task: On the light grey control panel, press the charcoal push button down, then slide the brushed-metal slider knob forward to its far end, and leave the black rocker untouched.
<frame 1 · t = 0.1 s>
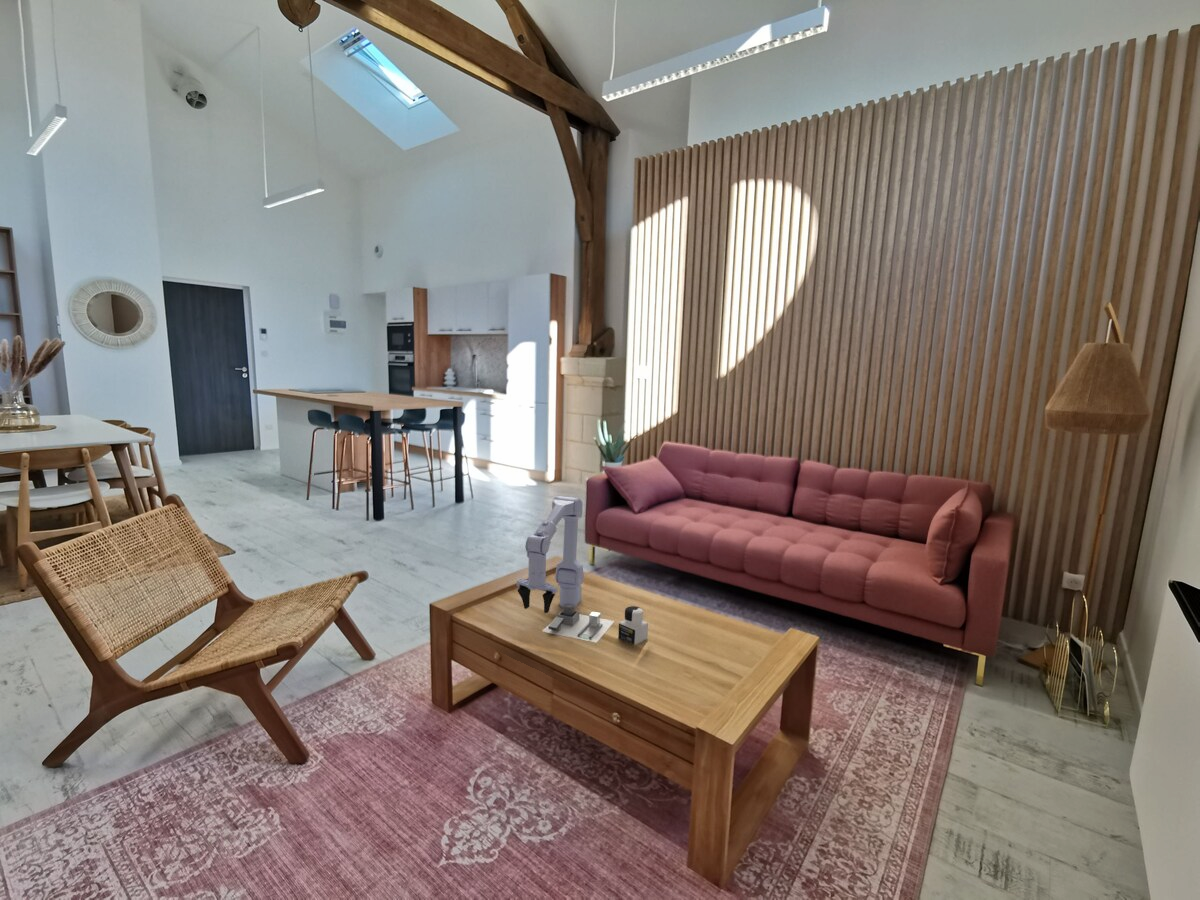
hand: (536, 609, 197), 10 cm above the table, fingers open, 7 cm apart
rocker: (556, 623, 201), point 4 cm above the table, hinge at 10.0°
slider knob: (594, 619, 204), point 4 cm above the table, slide at 0.0 cm
panel: (578, 630, 205), on the table
push button: (568, 611, 208), point 5 cm above the table, slide at 0.0 cm
medicine bottle: (632, 643, 197), on the table
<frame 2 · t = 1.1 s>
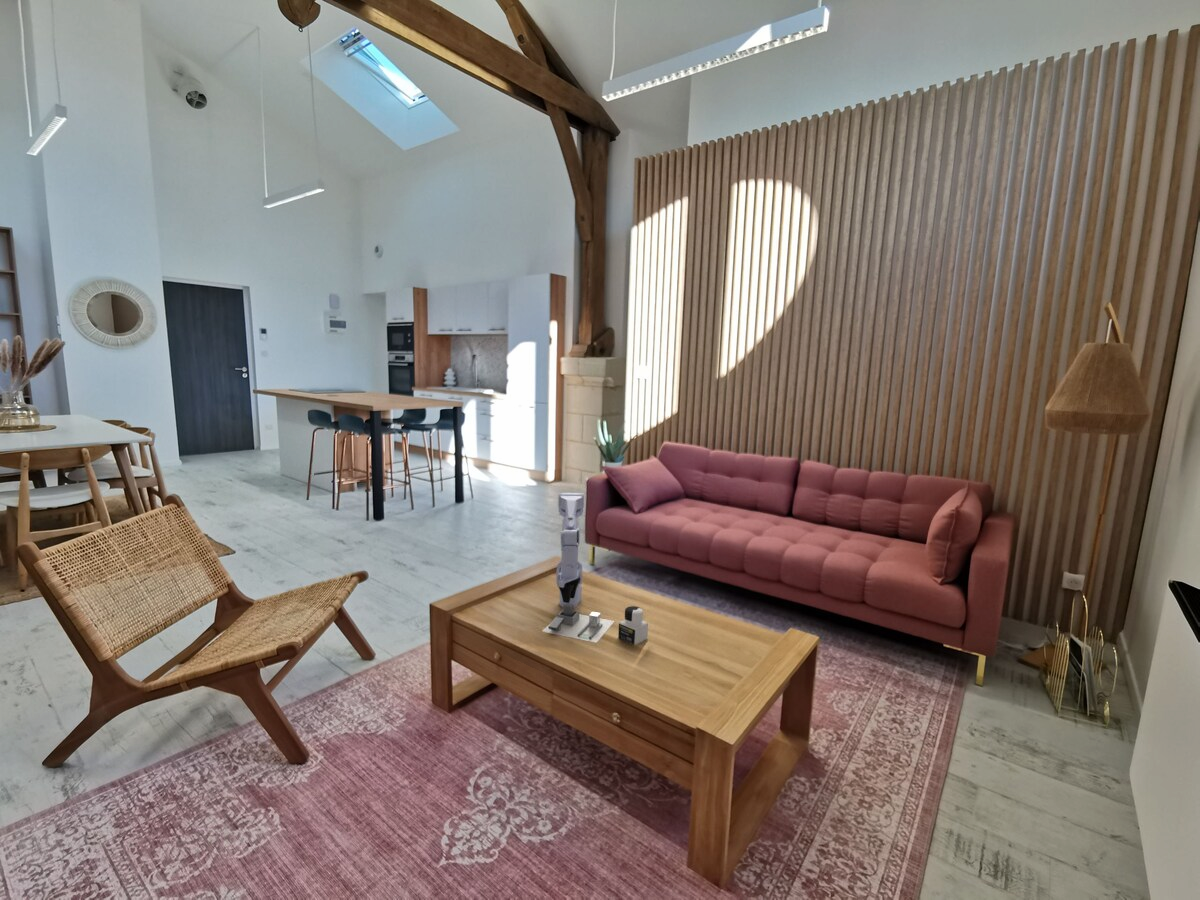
hand: (568, 600, 207), 9 cm above the table, fingers open, 4 cm apart
nothing on the table moved.
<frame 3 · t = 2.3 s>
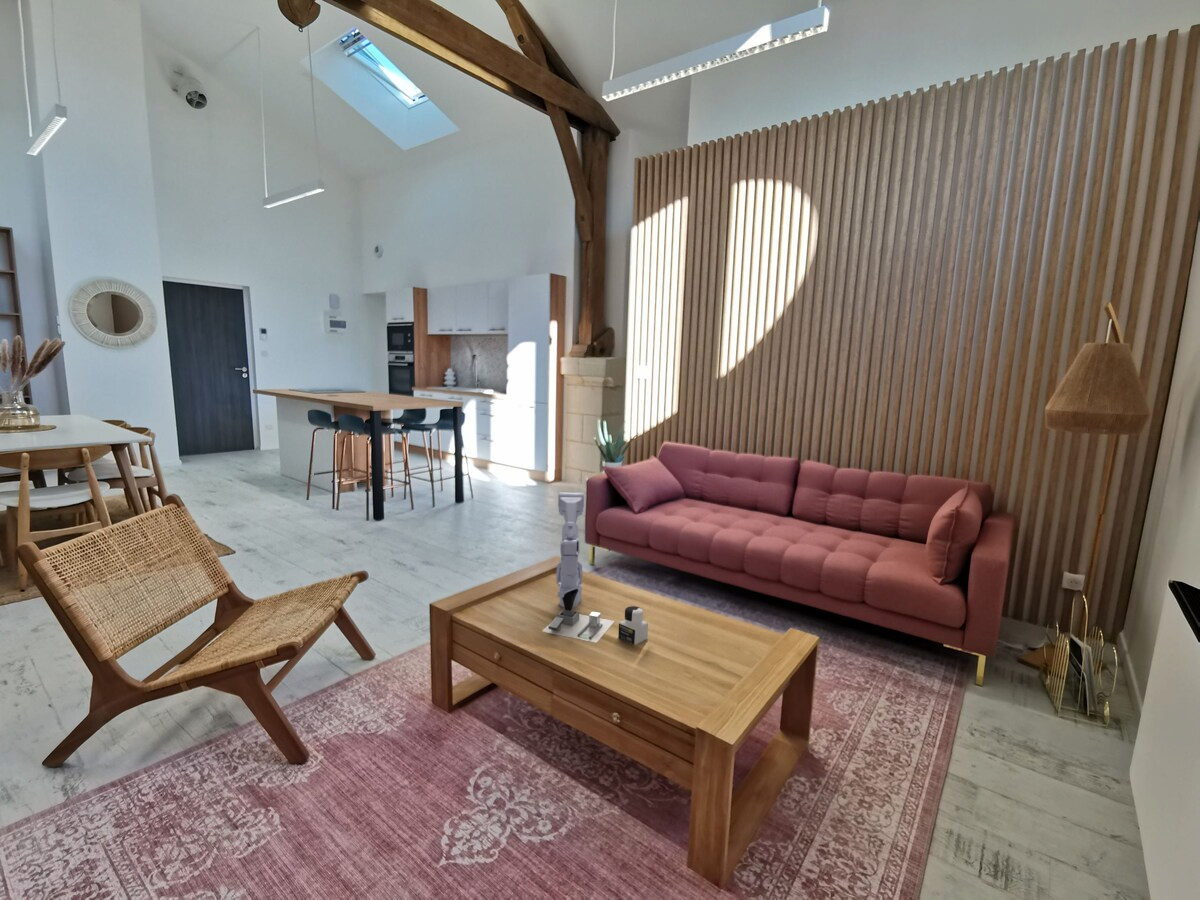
hand: (568, 609, 208), 6 cm above the table, fingers closed, pressing on push button
push button: (568, 614, 208), point 4 cm above the table, slide at 1.3 cm, touching gripper
everything else where it was.
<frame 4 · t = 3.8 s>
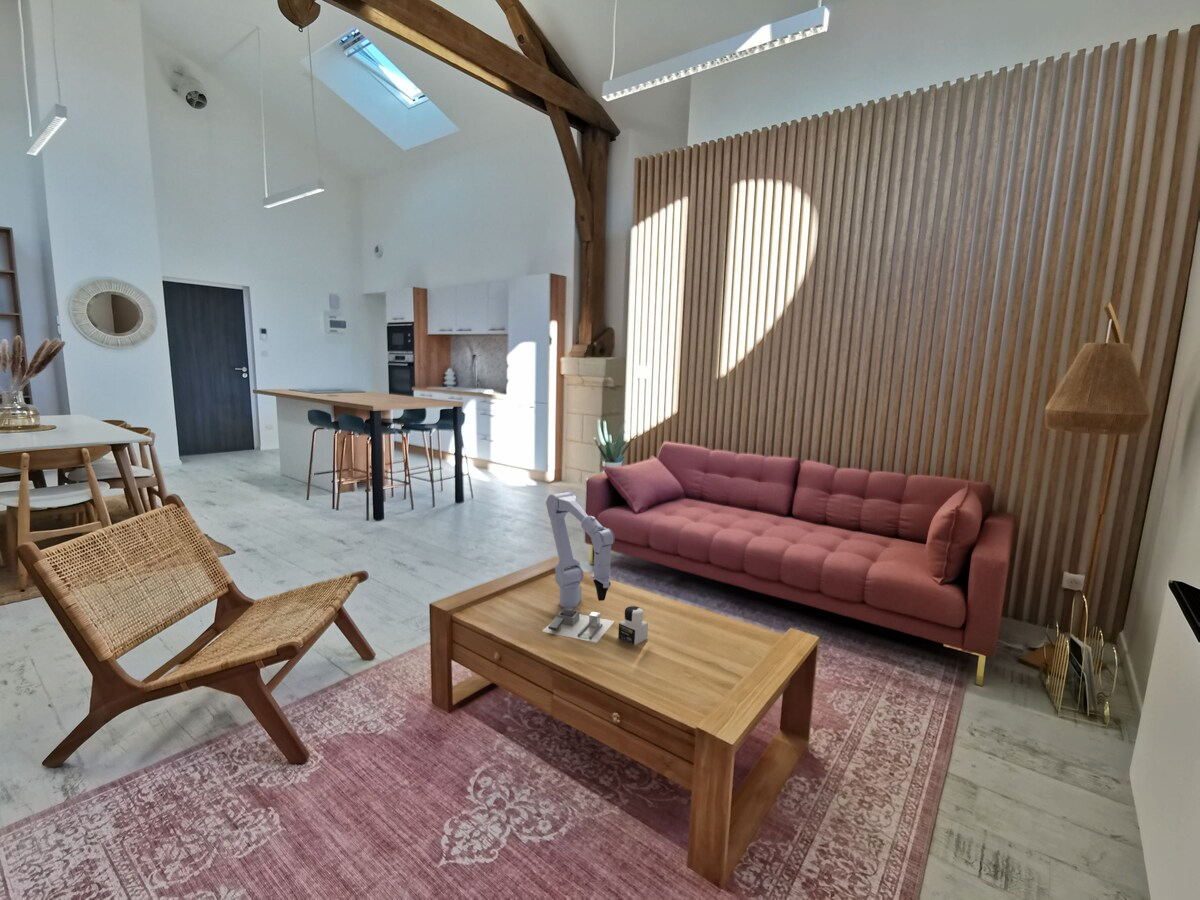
hand: (601, 599, 209), 9 cm above the table, fingers closed
push button: (568, 614, 208), point 4 cm above the table, slide at 1.3 cm
everything else where it was.
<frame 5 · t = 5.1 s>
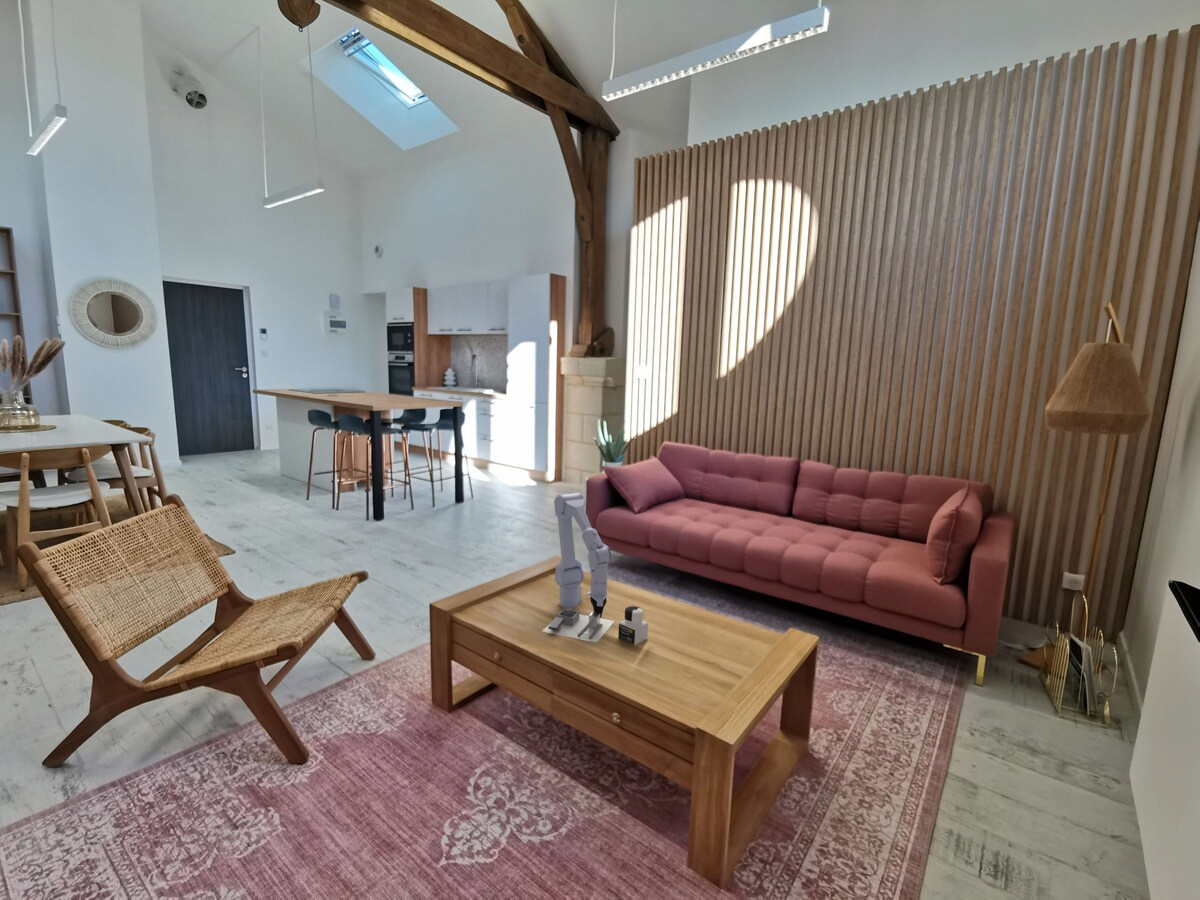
hand: (597, 617, 207), 4 cm above the table, fingers closed
slider knob: (594, 619, 204), point 4 cm above the table, slide at 0.4 cm, touching gripper
everything else where it was.
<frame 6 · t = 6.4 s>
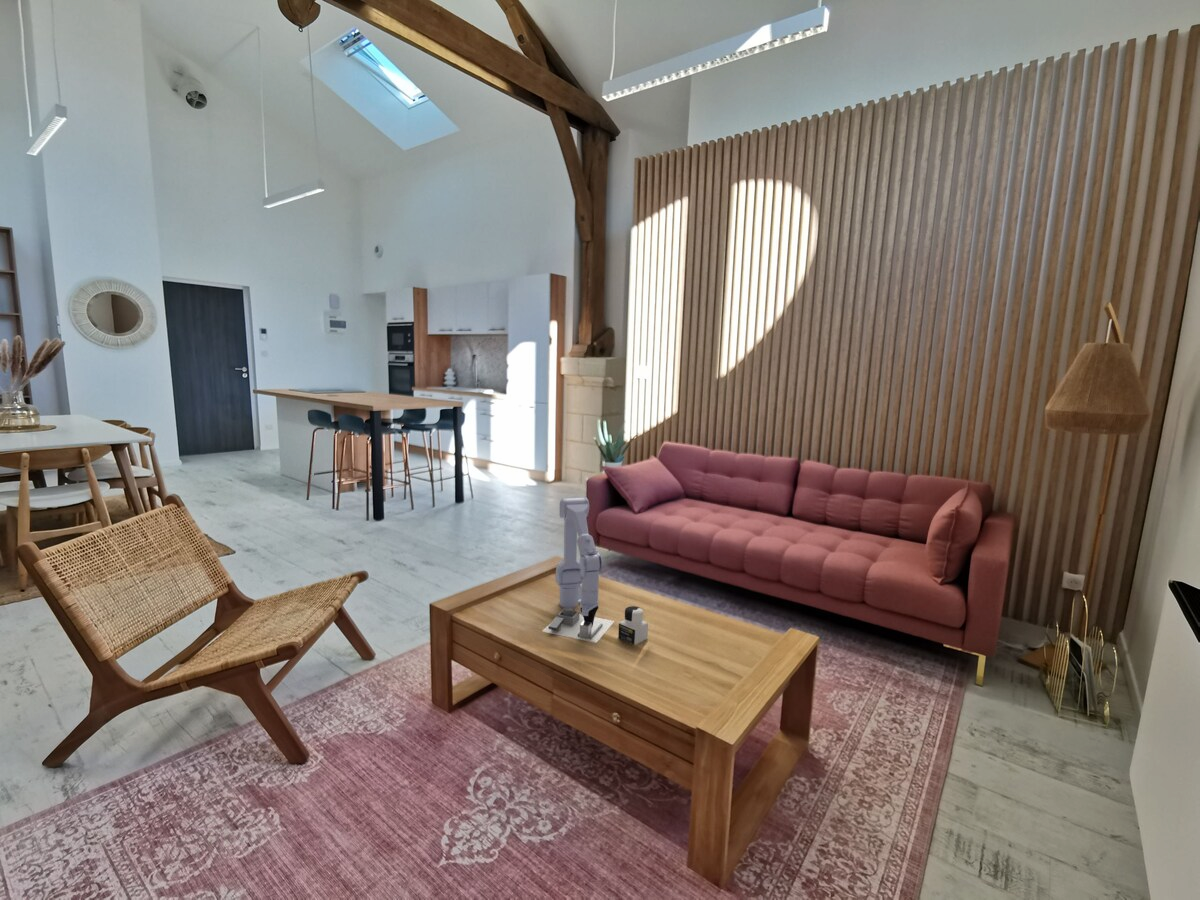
hand: (588, 627, 199), 4 cm above the table, fingers closed
slider knob: (585, 629, 197), point 4 cm above the table, slide at 8.3 cm, touching gripper
everything else where it was.
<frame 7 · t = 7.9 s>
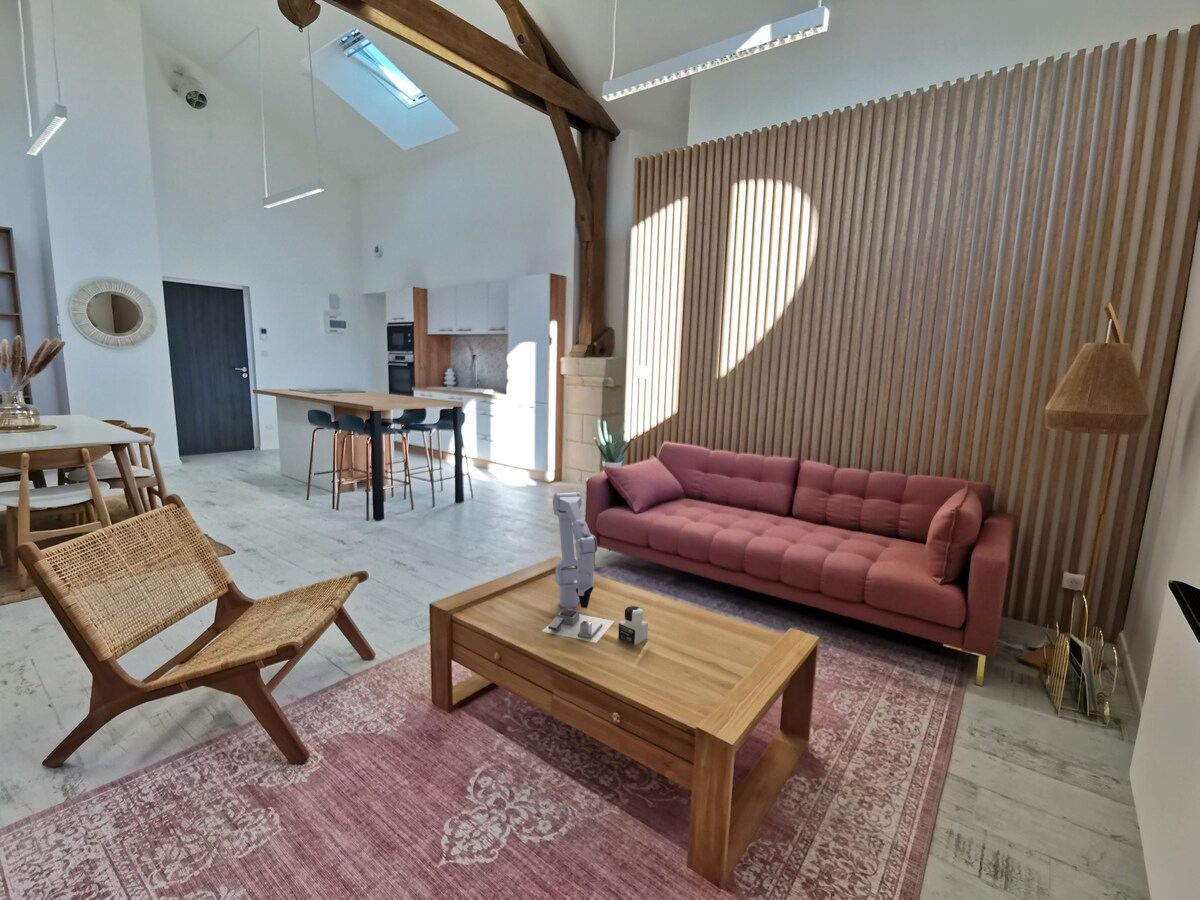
hand: (584, 607, 206), 7 cm above the table, fingers closed
slider knob: (585, 629, 197), point 4 cm above the table, slide at 8.1 cm
everything else where it was.
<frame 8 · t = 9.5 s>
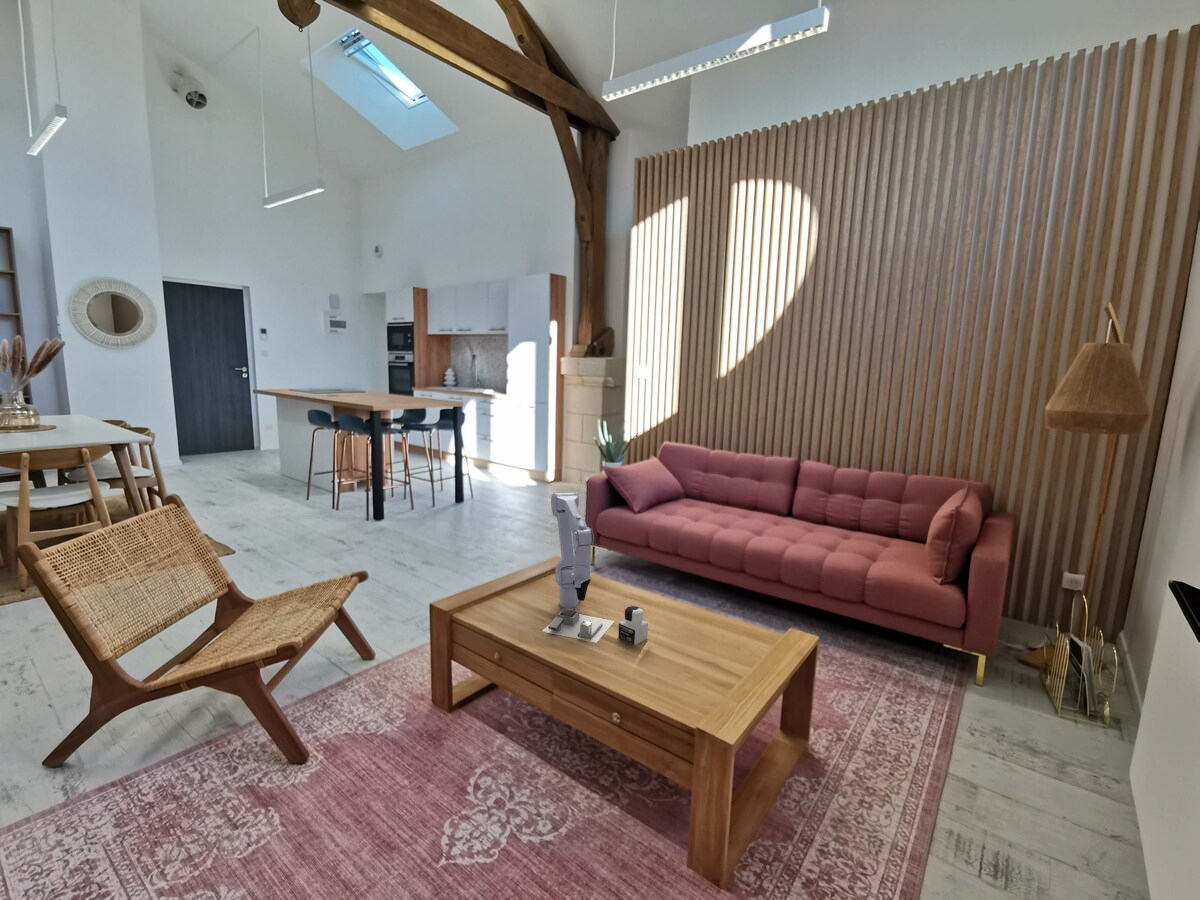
hand: (581, 599, 208), 9 cm above the table, fingers closed
nothing on the table moved.
at the end: push button slide at 1.3 cm; slider knob slide at 8.1 cm; rocker at +10° (first picture: +10°) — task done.
